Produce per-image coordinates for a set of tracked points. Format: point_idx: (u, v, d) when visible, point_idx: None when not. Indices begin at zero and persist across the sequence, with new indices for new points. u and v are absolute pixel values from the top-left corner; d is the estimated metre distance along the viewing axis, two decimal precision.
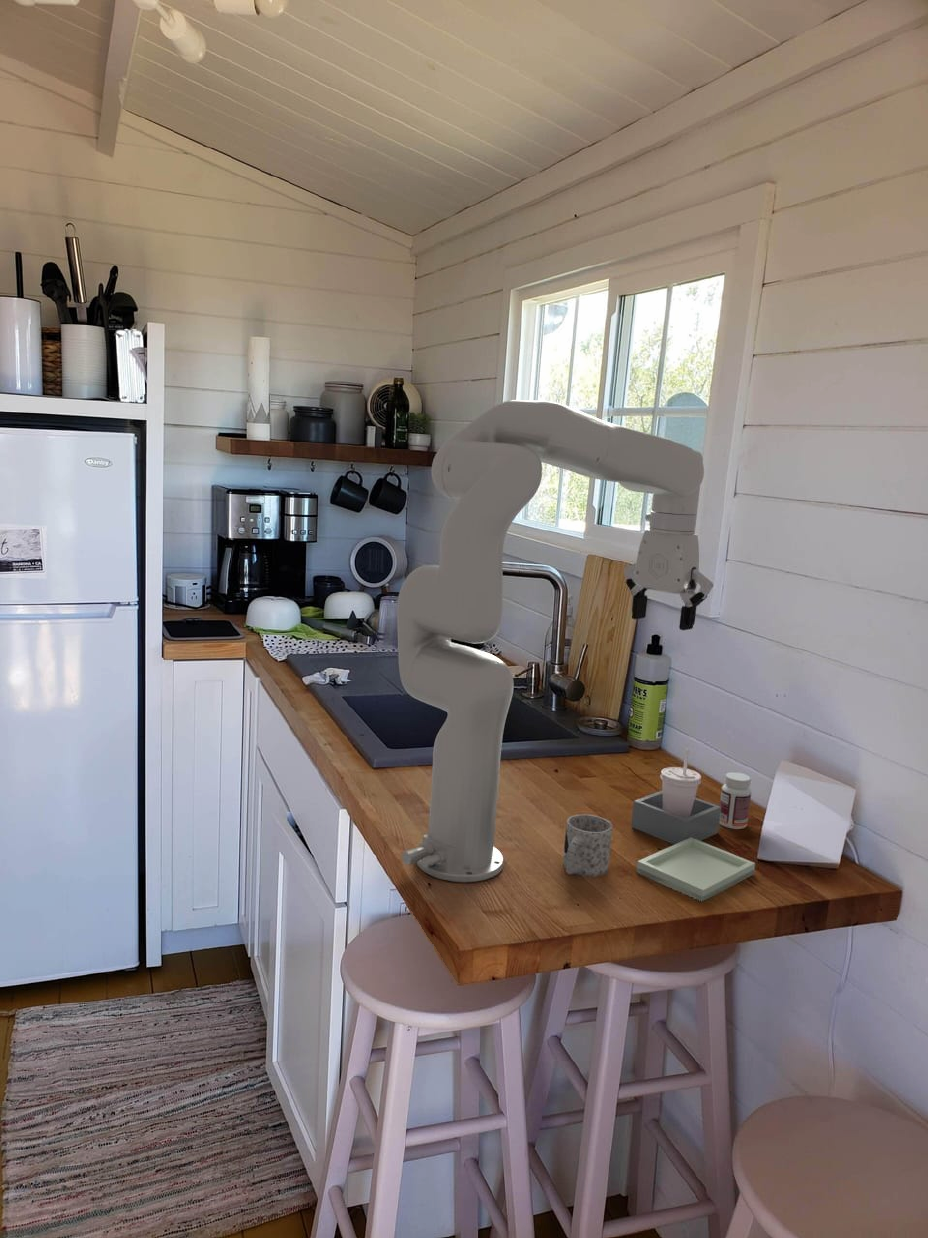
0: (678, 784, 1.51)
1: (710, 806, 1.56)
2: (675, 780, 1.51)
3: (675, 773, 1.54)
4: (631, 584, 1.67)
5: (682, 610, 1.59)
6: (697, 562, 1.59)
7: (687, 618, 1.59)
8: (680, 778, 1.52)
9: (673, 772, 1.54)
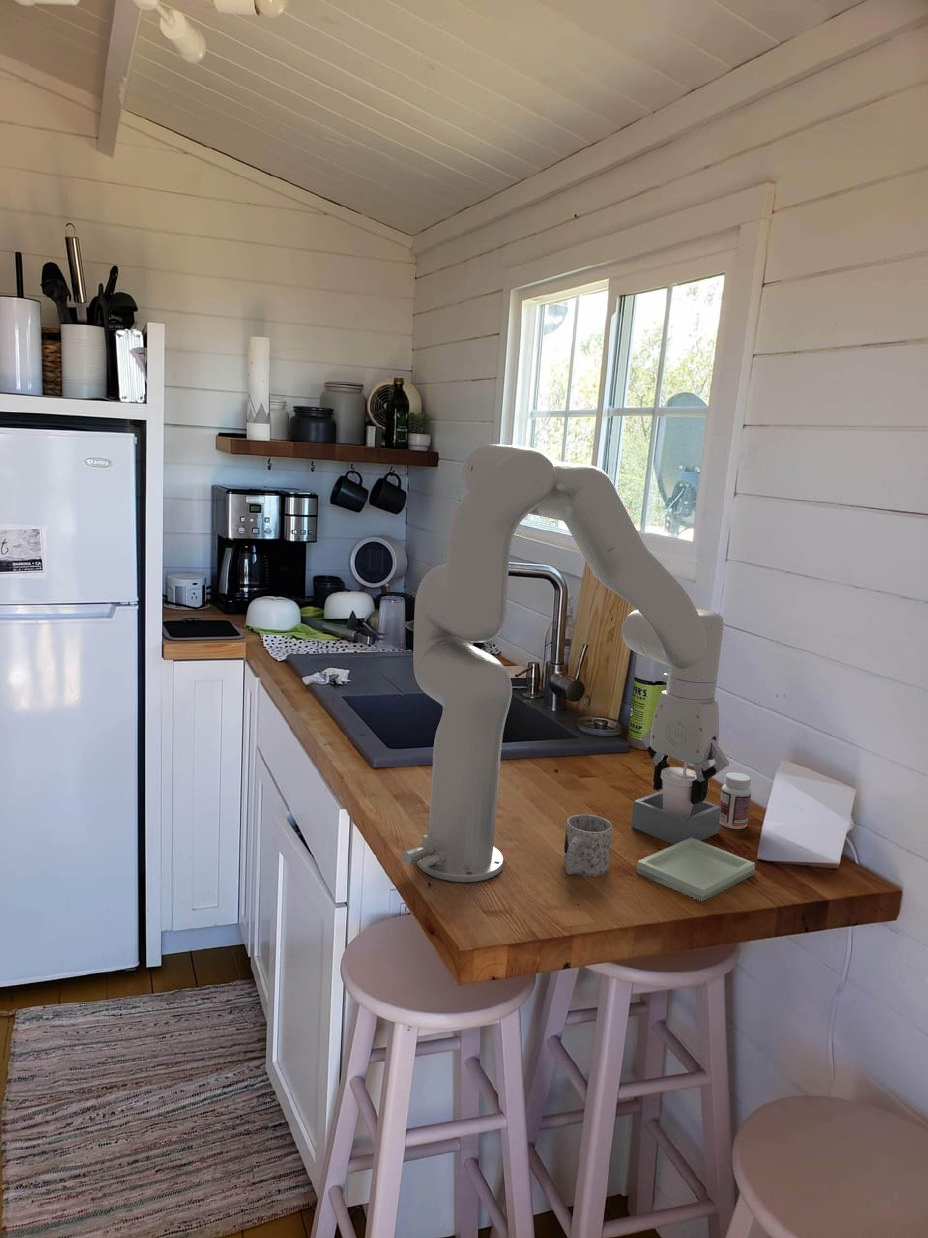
0: (678, 784, 1.51)
1: (710, 806, 1.56)
2: (675, 780, 1.51)
3: (675, 773, 1.54)
4: (653, 753, 1.57)
5: (693, 784, 1.51)
6: (717, 730, 1.50)
7: (699, 791, 1.51)
8: (680, 778, 1.52)
9: (673, 772, 1.54)
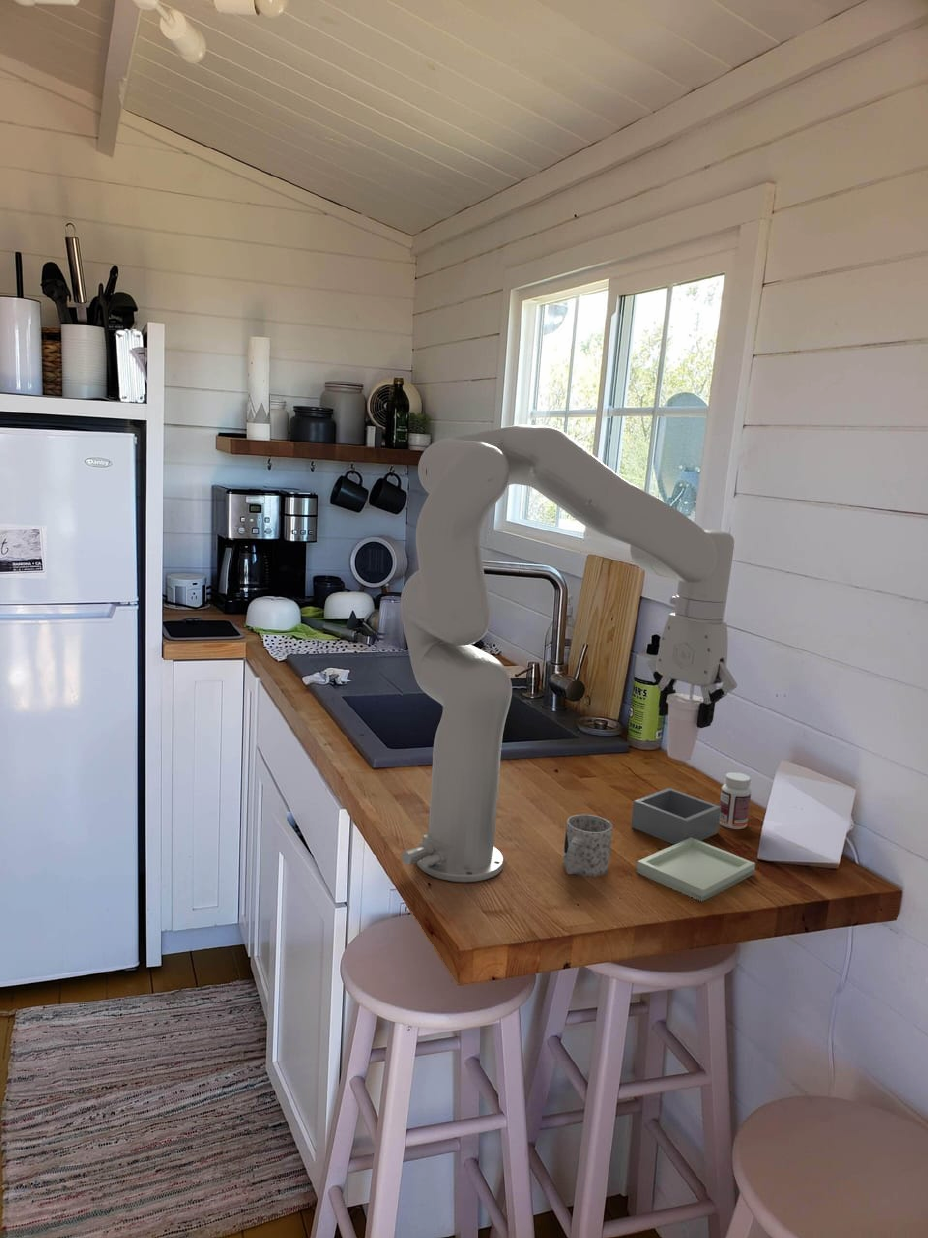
0: (684, 707, 1.49)
1: (710, 806, 1.56)
2: (681, 703, 1.49)
3: (681, 697, 1.51)
4: (659, 678, 1.54)
5: (700, 707, 1.48)
6: (725, 652, 1.47)
7: (705, 715, 1.48)
8: (686, 702, 1.49)
9: (679, 697, 1.51)
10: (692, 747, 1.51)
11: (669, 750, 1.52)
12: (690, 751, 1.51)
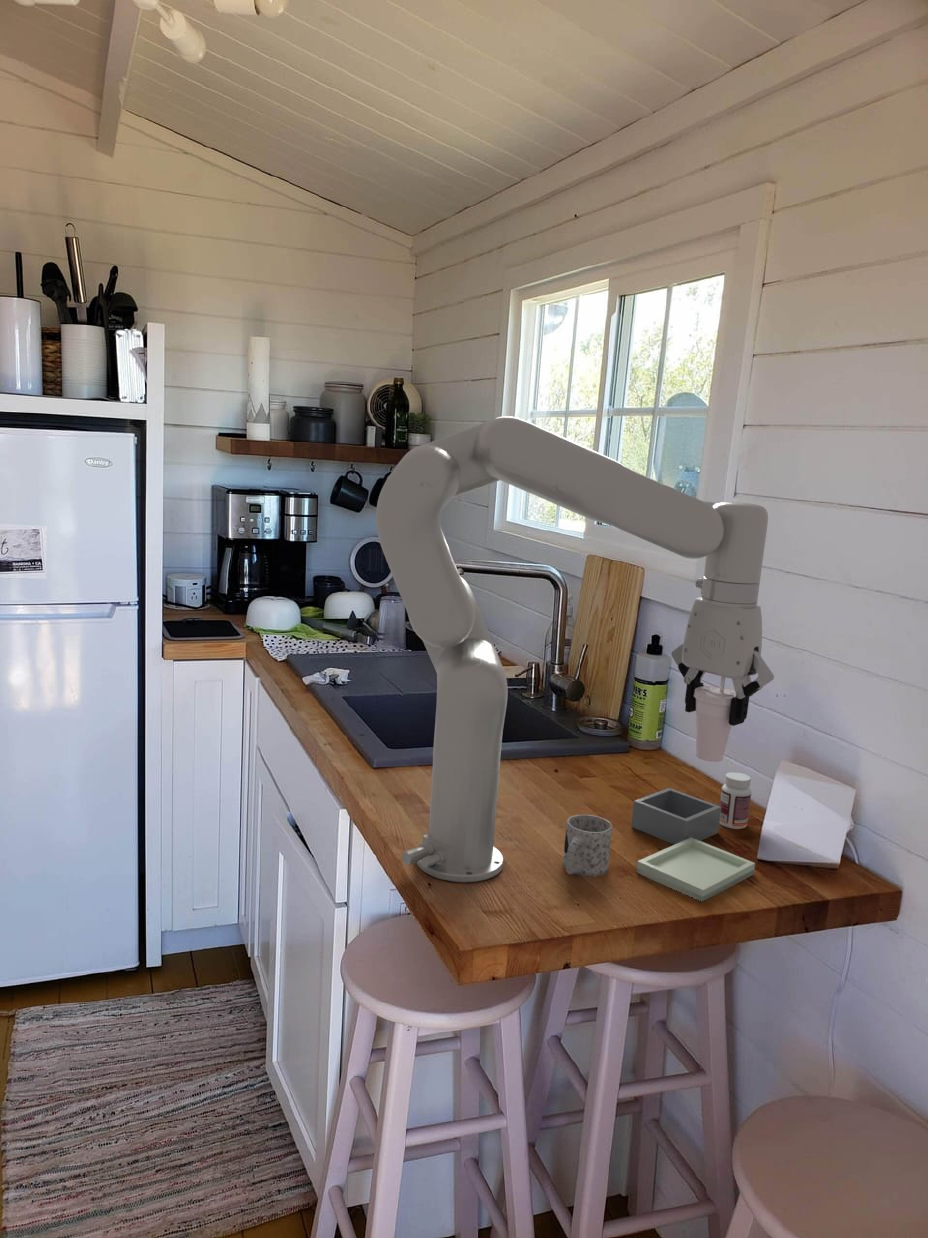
0: (715, 702, 1.33)
1: (710, 806, 1.56)
2: (711, 698, 1.33)
3: (711, 691, 1.35)
4: (684, 670, 1.38)
5: (732, 702, 1.32)
6: (760, 640, 1.31)
7: (738, 711, 1.32)
8: (717, 696, 1.33)
9: (708, 690, 1.35)
10: (724, 746, 1.35)
11: (698, 750, 1.36)
12: (722, 750, 1.35)
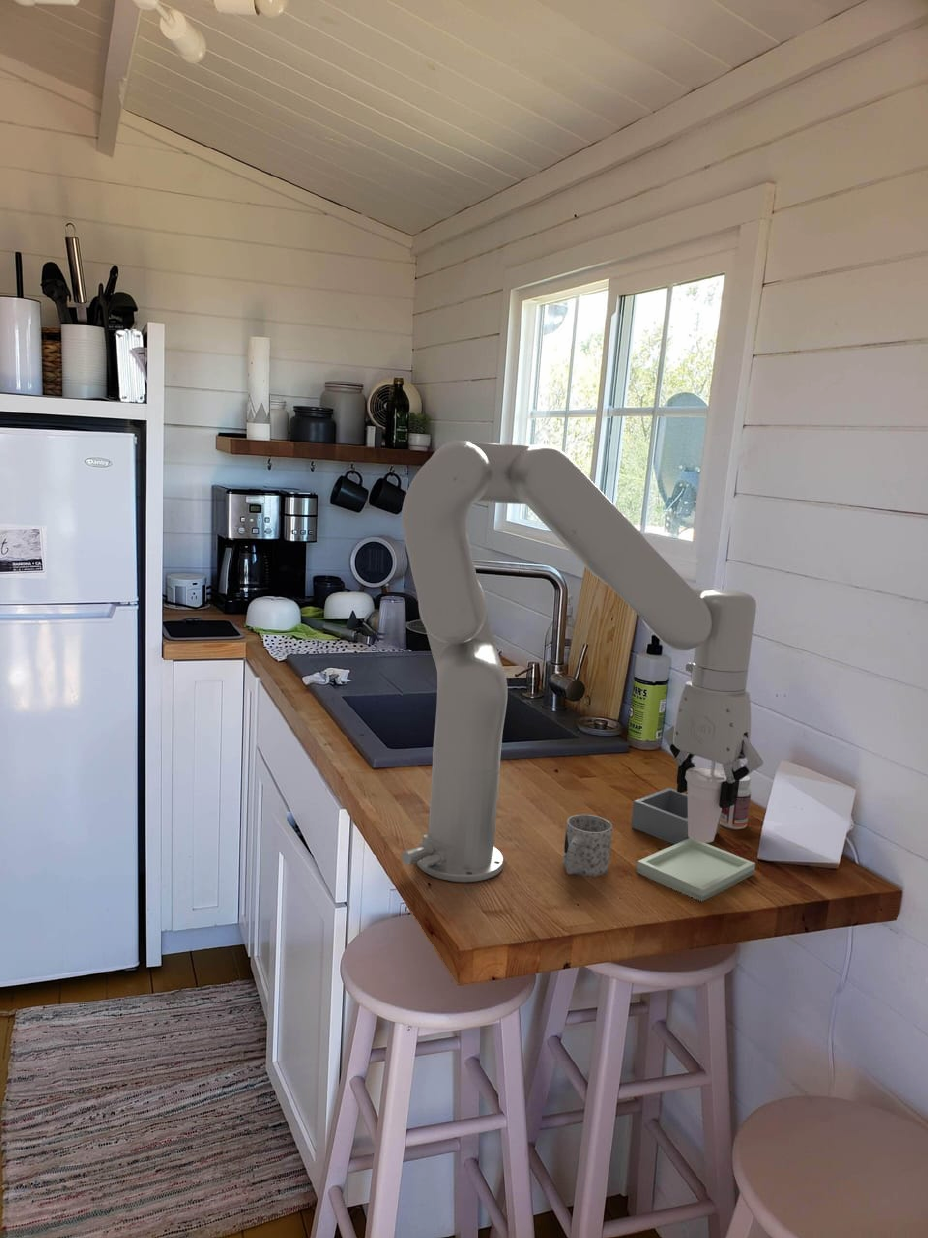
0: (706, 786, 1.35)
1: None
2: (702, 781, 1.35)
3: (702, 774, 1.37)
4: (676, 751, 1.40)
5: (723, 786, 1.34)
6: (749, 726, 1.33)
7: (728, 794, 1.35)
8: (708, 779, 1.36)
9: (699, 772, 1.38)
10: (715, 827, 1.38)
11: (690, 831, 1.39)
12: (713, 831, 1.38)
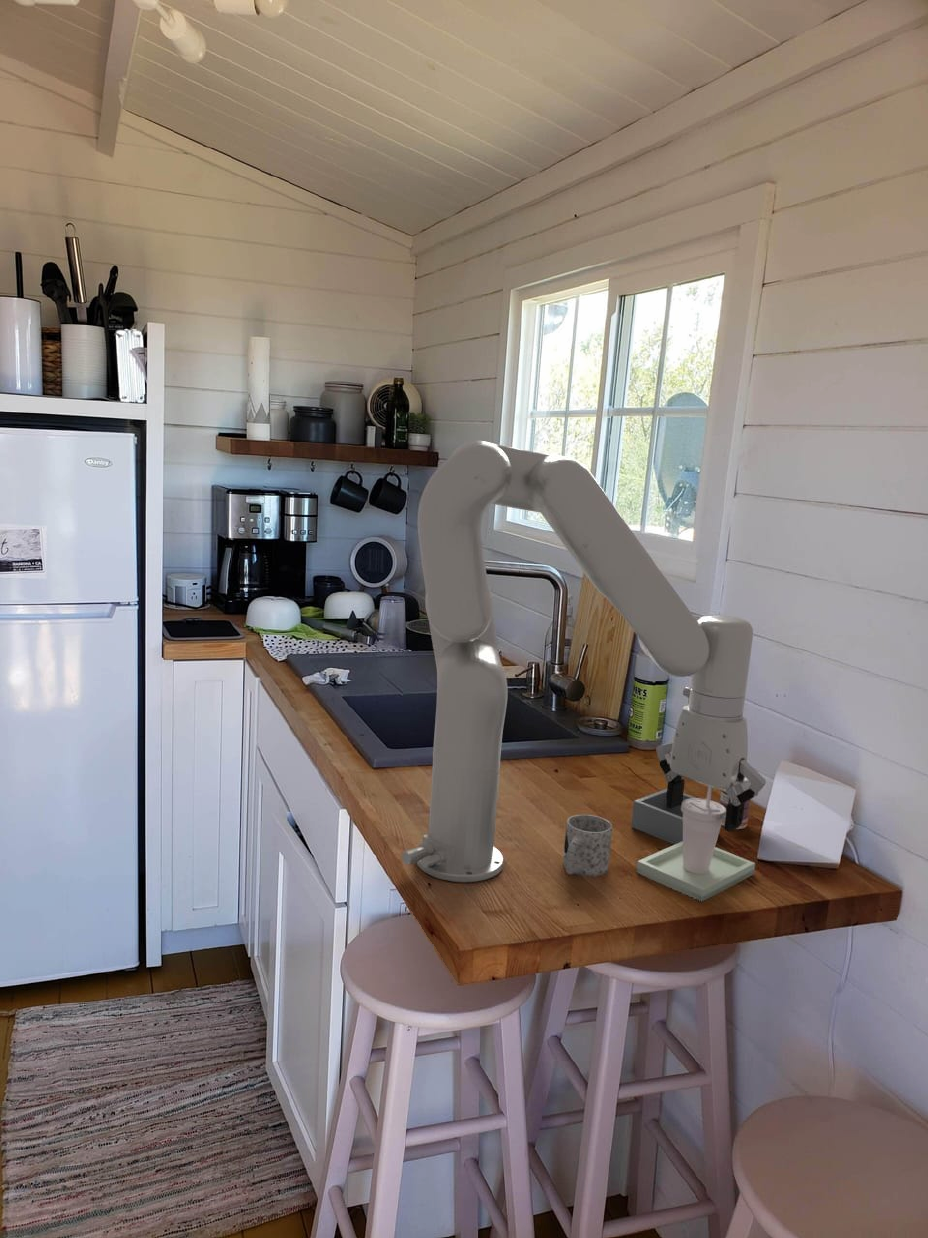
0: (701, 818, 1.36)
1: None
2: (698, 814, 1.36)
3: (697, 805, 1.38)
4: (666, 767, 1.42)
5: (728, 809, 1.34)
6: (746, 751, 1.34)
7: (734, 817, 1.34)
8: (703, 811, 1.37)
9: (695, 804, 1.39)
10: (710, 859, 1.39)
11: (685, 862, 1.40)
12: (708, 863, 1.39)
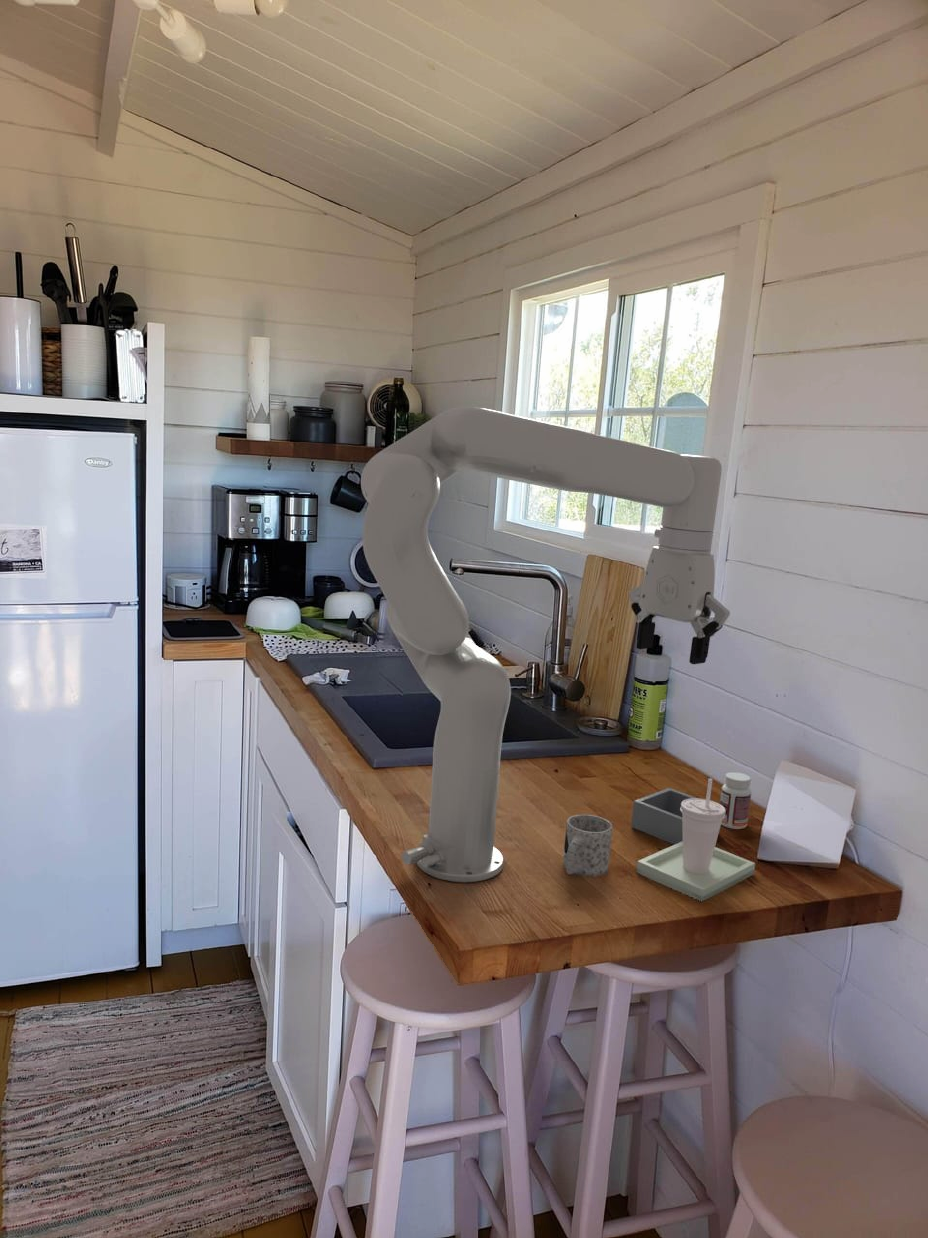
0: (700, 819, 1.36)
1: None
2: (697, 814, 1.36)
3: (697, 806, 1.38)
4: (637, 609, 1.46)
5: (693, 641, 1.38)
6: (712, 586, 1.38)
7: (699, 650, 1.38)
8: (702, 812, 1.37)
9: (694, 805, 1.39)
10: (709, 859, 1.39)
11: (685, 862, 1.40)
12: (708, 863, 1.39)
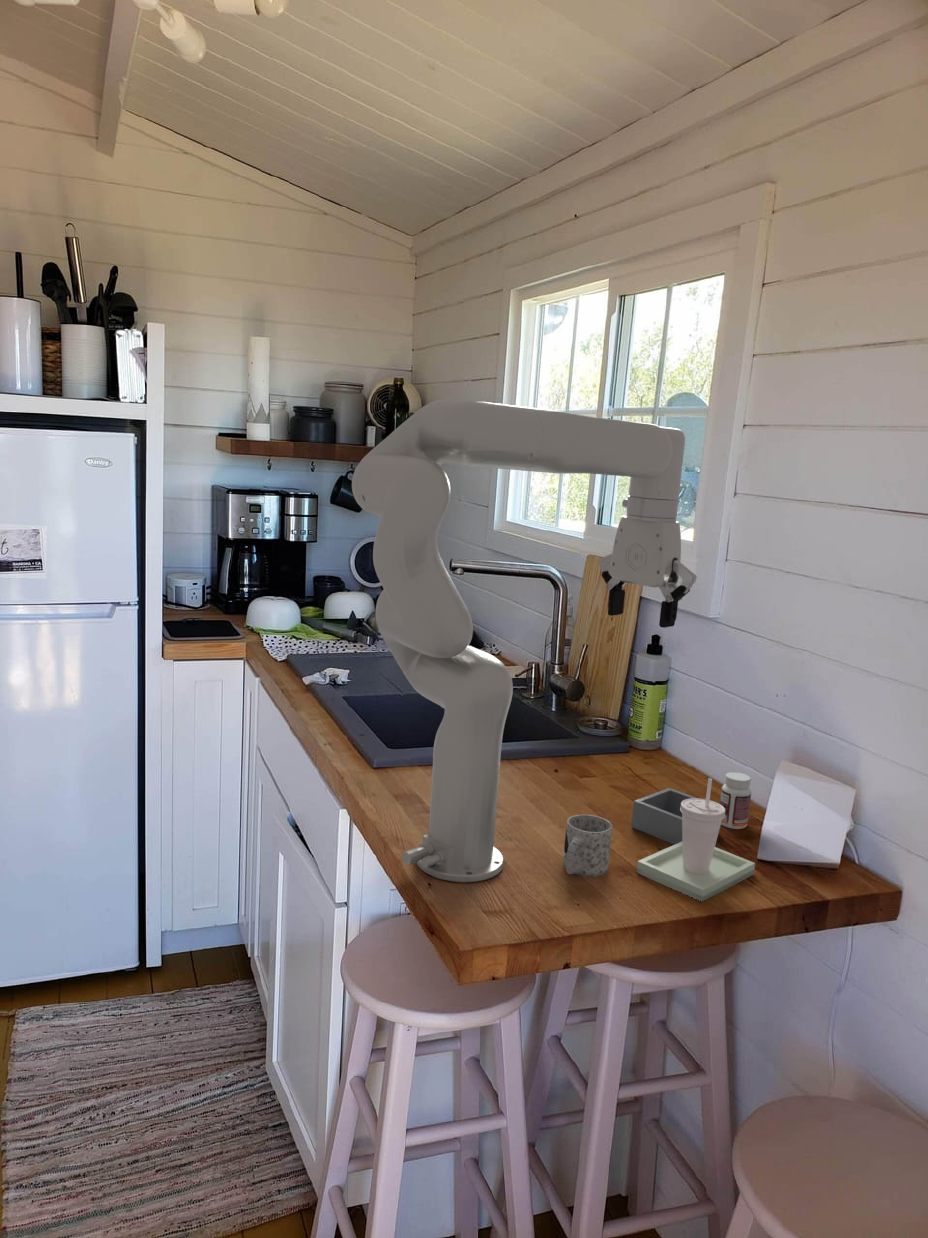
0: (700, 818, 1.36)
1: None
2: (697, 814, 1.36)
3: (696, 806, 1.38)
4: (607, 577, 1.51)
5: (662, 605, 1.44)
6: (679, 552, 1.44)
7: (668, 614, 1.44)
8: (702, 812, 1.37)
9: (694, 804, 1.39)
10: (709, 859, 1.39)
11: (685, 862, 1.40)
12: (708, 863, 1.39)
